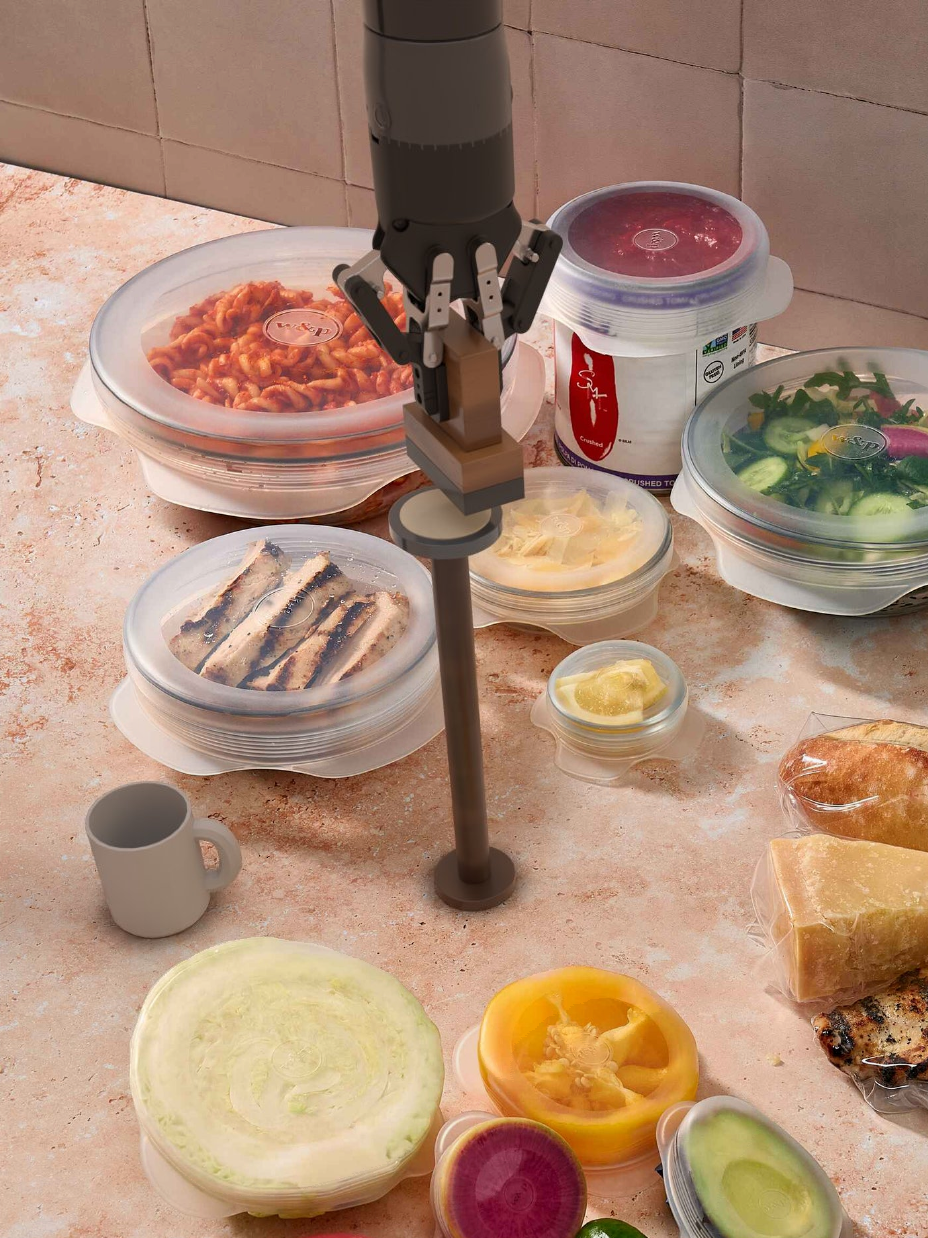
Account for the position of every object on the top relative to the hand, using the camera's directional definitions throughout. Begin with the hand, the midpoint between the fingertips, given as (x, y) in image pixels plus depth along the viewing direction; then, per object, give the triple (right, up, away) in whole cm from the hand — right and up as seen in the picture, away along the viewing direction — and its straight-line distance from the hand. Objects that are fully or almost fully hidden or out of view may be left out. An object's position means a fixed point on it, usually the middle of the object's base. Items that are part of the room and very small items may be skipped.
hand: (459, 408), depth 98 cm
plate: (-1, -6, +5) cm, 8 cm away
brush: (0, -3, +3) cm, 5 cm away
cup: (-23, -31, +24) cm, 45 cm away
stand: (-2, -29, +26) cm, 39 cm away
